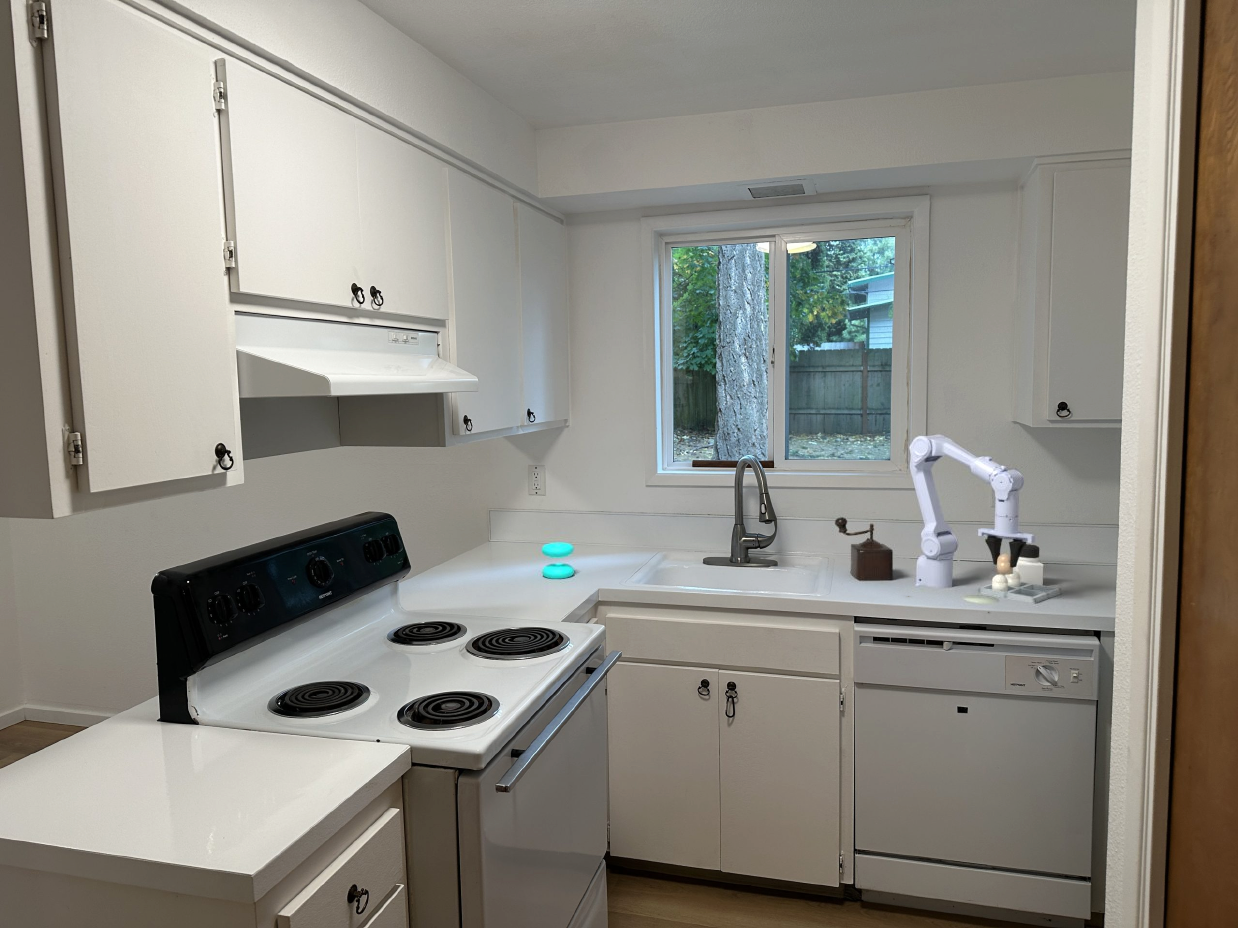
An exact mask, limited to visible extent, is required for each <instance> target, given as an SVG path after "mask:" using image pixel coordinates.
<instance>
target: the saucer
mask: <svg viewBox="0 0 1238 928" xmlns="http://www.w3.org/2000/svg"><path fill="white" fill-rule="evenodd" d="M962 599H963V600H965V601H967V602H970V603H976V604H996V603H999V602H1000V599H998V597H996V596H991V595H986V594H968V595H964V596H963V597H962Z"/></svg>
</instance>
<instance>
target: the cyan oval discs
mask: <svg viewBox="0 0 1238 928" xmlns="http://www.w3.org/2000/svg"><path fill="white" fill-rule="evenodd" d="M573 552H574V546H573V545H572V544H570V543H569V542H550V543H547V544H544V545H543V546H542V548H541V553H542V554H543V555H544V556H545V557H549V558H552V559H553V558H556V559H557V558H558V559H559V558H567V557H569V556H571V555H572V554H573ZM541 573H542V575H543V576H544V577H545V578H548V579H554V580H556V579H557V580H559V579H560V580H562V579H567V578H570V577H572V576H573V575H574V573H575V568H574V567H573V566H572V565H570V564H569V563H564V562H563V563H562V562H560V563H559V562H557V563H549V564H547V565H546V566H544V567H543V568H542V571H541Z"/></svg>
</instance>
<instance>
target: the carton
mask: <svg viewBox="0 0 1238 928" xmlns="http://www.w3.org/2000/svg"><path fill="white" fill-rule="evenodd" d="M1061 591H1062V589H1061V587H1054V586H1049V585H1044V584H1043V585H1038V584H1032V583H1026V582H1020V587H1019V588H1018V587H1012V586H1008V592H1002V591H997V590H992V583H989V584H986V585H982V586H980V587H978V590H977V593H978V594H980V595H985V596H991V597H996V598H1003V599H1008V600H1014V601H1019V602H1025V603H1029V604H1037V603H1040V602H1042V601H1044V600H1047V599H1050V598H1052V597H1055V596H1058V595H1060V594H1062V593H1061Z"/></svg>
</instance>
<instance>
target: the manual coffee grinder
mask: <svg viewBox="0 0 1238 928" xmlns="http://www.w3.org/2000/svg"><path fill="white" fill-rule="evenodd" d="M834 525H835V526H836V527H837V528H838V533H840V534H843V535H845V536H849V537H850V536H859V535H865V534H868V533H869V538H868V537H867V538H866V539H865V540H864V541H863V542H859V543H851V545H850V571H849V573H850V574H851V576H852V577H853V578H854V579H856V580H857V581H859V582H880V581H881V582H883V581H893V580H894V577H893V573H894V572H893V571H894V570H893V569H894V568H893V567H894V566H893V565H894V563H893V562H894V558H893V557H894V553H893V549H892V548H890V547H889V546H887V545H886V544H885V543H881V542H879V541H877V540H876V539H874V531H875V528H874V523H870V524H869V529H866V530H863V531H861V530H860V531H855V532H848V528H847V525H848V520H847V518H845V517H844V516H842V517H841V516H840V517H838V518H836V519H835V520H834Z"/></svg>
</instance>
